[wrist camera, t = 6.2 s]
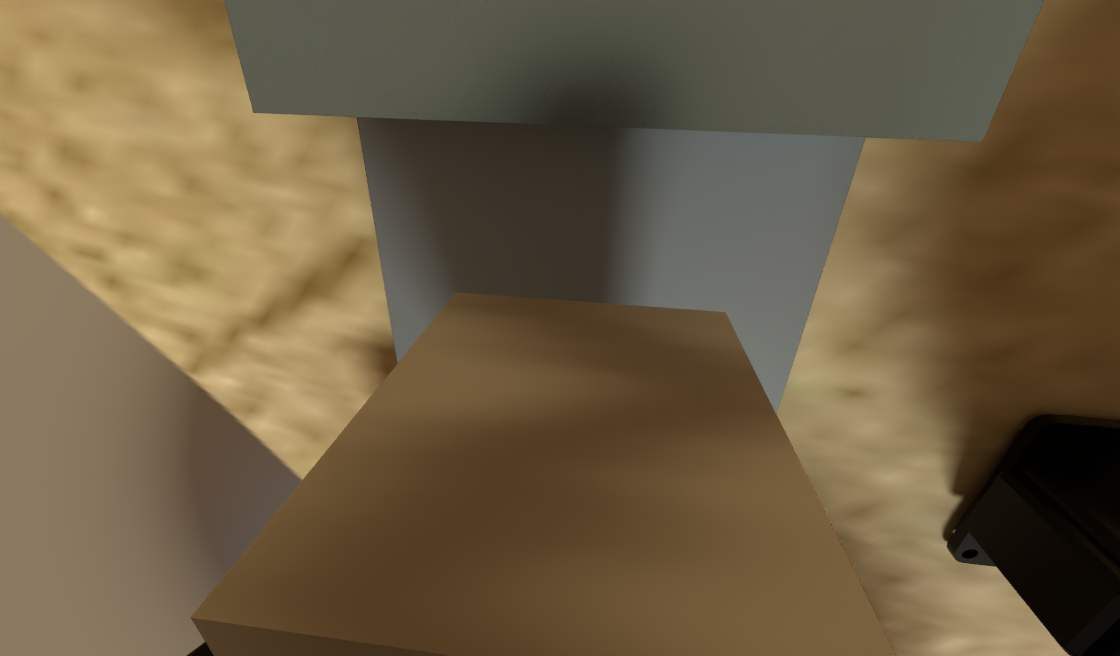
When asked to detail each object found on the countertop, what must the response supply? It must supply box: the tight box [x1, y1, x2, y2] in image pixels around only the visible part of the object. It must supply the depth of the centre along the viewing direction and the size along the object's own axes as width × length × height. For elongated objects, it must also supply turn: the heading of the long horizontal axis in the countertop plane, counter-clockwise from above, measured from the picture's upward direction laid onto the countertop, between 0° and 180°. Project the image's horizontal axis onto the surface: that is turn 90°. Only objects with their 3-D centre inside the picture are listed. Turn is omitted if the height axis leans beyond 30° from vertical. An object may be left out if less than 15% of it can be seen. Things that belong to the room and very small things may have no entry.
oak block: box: [191, 292, 896, 656], centre depth 7 cm, size 5×7×6 cm
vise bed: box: [357, 117, 866, 414], centre depth 10 cm, size 12×24×4 cm, turn 178°
